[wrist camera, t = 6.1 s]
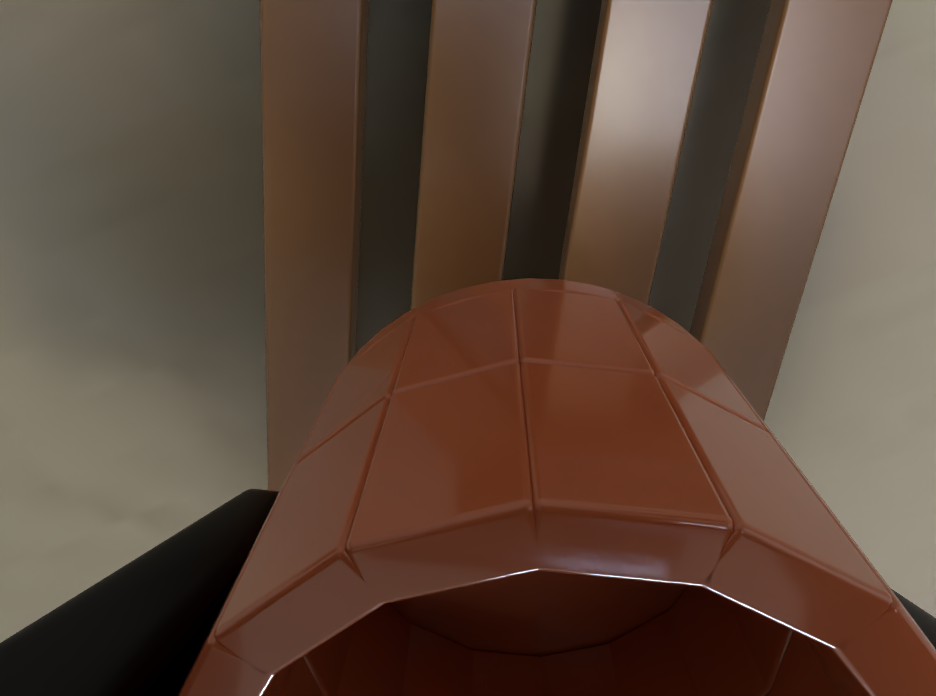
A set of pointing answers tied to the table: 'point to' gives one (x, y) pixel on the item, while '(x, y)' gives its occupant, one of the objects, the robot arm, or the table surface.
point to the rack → (595, 181)
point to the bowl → (551, 526)
